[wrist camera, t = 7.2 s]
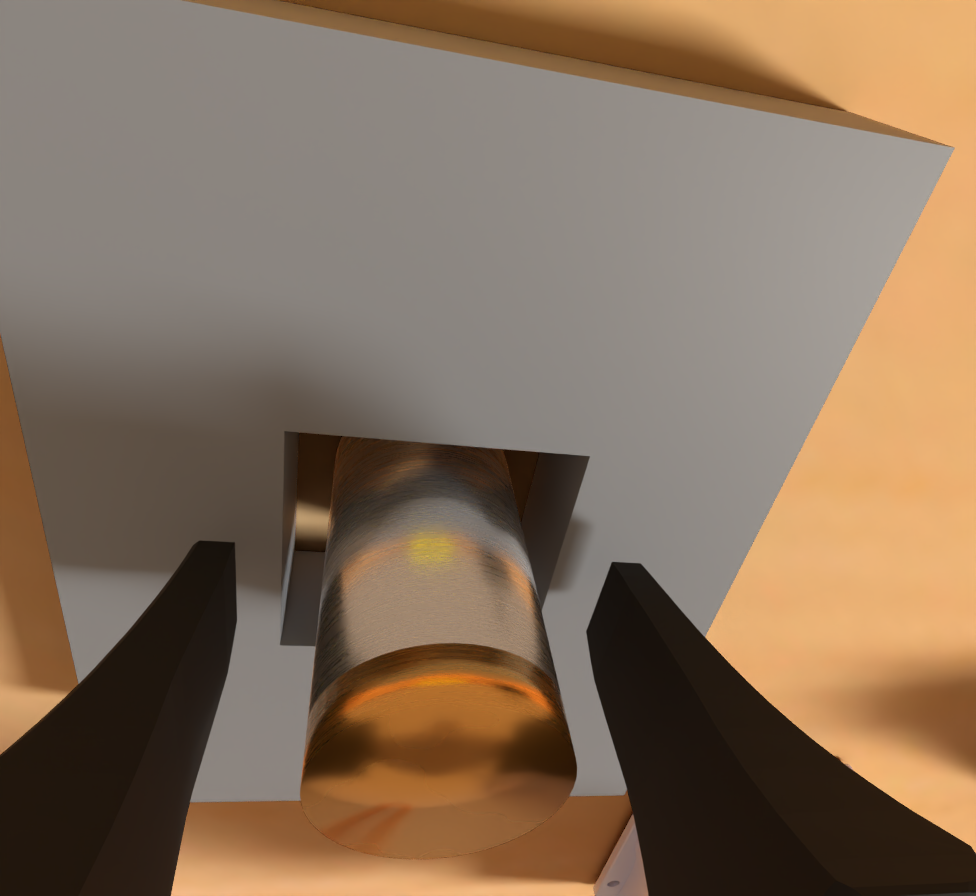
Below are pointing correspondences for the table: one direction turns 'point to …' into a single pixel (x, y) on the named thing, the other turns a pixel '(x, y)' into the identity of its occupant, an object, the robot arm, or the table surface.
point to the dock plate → (410, 311)
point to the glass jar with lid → (430, 660)
